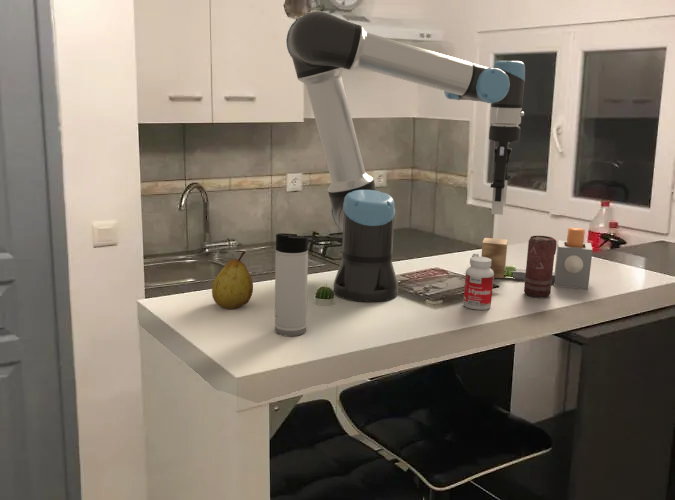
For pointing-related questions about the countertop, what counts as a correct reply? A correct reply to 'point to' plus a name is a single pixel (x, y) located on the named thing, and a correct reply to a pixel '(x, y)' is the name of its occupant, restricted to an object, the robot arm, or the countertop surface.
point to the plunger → (575, 237)
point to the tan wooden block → (495, 254)
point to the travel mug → (291, 284)
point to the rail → (519, 272)
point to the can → (539, 266)
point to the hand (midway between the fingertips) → (498, 209)
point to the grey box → (573, 265)
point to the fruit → (232, 285)
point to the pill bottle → (478, 284)
